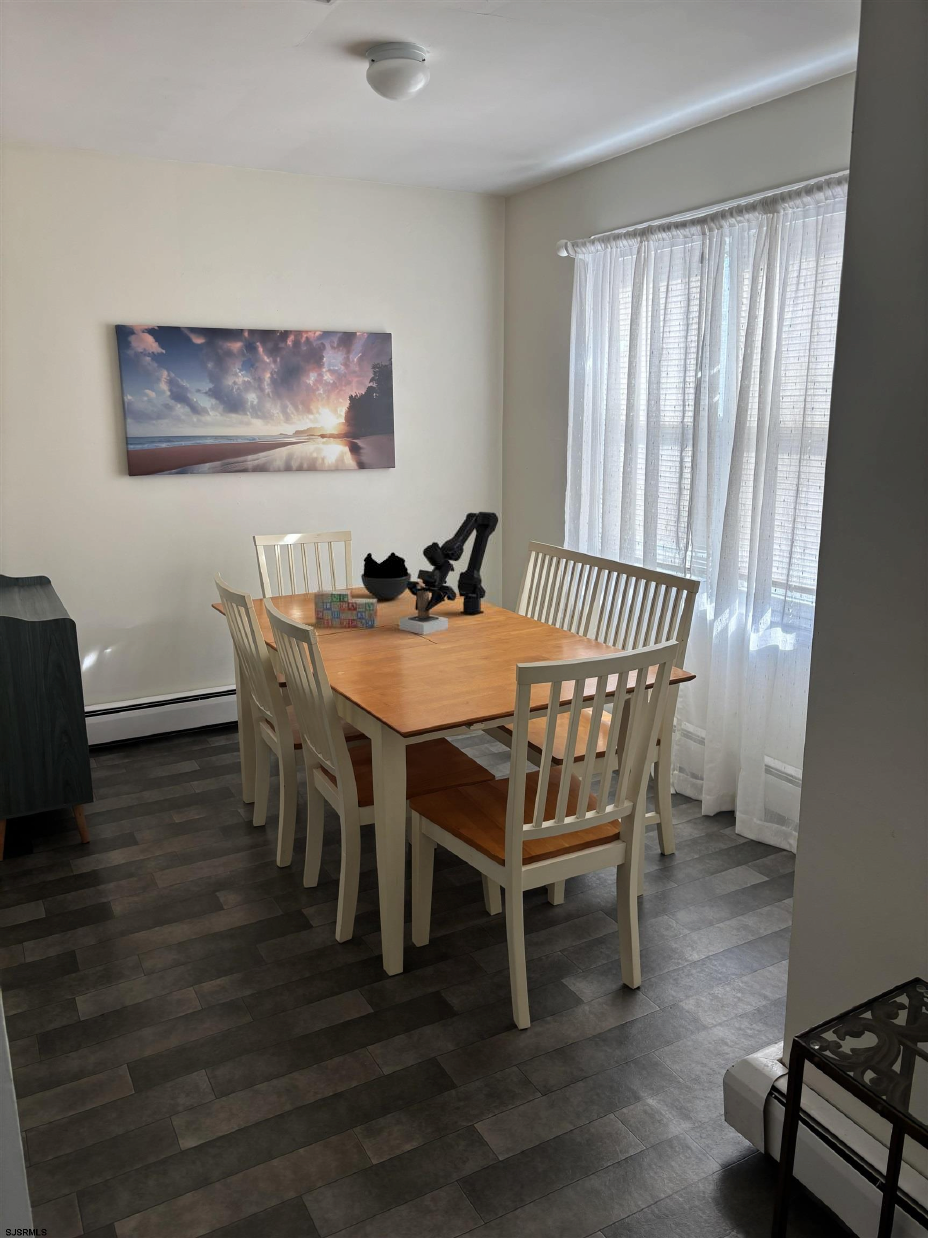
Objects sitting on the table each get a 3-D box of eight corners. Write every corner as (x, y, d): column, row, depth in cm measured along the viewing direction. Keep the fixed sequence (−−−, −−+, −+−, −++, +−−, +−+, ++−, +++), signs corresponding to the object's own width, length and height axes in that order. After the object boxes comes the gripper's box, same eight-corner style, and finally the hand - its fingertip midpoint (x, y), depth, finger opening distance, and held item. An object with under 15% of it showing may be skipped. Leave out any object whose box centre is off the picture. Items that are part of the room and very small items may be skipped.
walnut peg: (426, 626, 318) (426, 590, 315) (431, 628, 314) (430, 592, 311) (416, 627, 316) (415, 591, 313) (420, 629, 313) (419, 593, 310)
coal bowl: (421, 597, 368) (420, 551, 363) (391, 606, 351) (390, 558, 347) (381, 592, 378) (380, 547, 374) (351, 600, 362) (350, 554, 357)
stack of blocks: (377, 624, 323) (377, 590, 320) (374, 628, 317) (373, 594, 314) (319, 622, 325) (318, 589, 322) (315, 626, 319) (313, 592, 316)
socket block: (423, 623, 323) (423, 612, 322) (447, 628, 315) (447, 617, 315) (399, 629, 315) (399, 617, 314) (423, 634, 307) (423, 623, 306)
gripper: (408, 558, 318) (389, 594, 312) (451, 563, 308) (432, 600, 301) (422, 576, 326) (403, 612, 320) (464, 582, 316) (446, 618, 310)
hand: (421, 610), depth 313 cm, fingers closed on walnut peg, 4 cm apart
